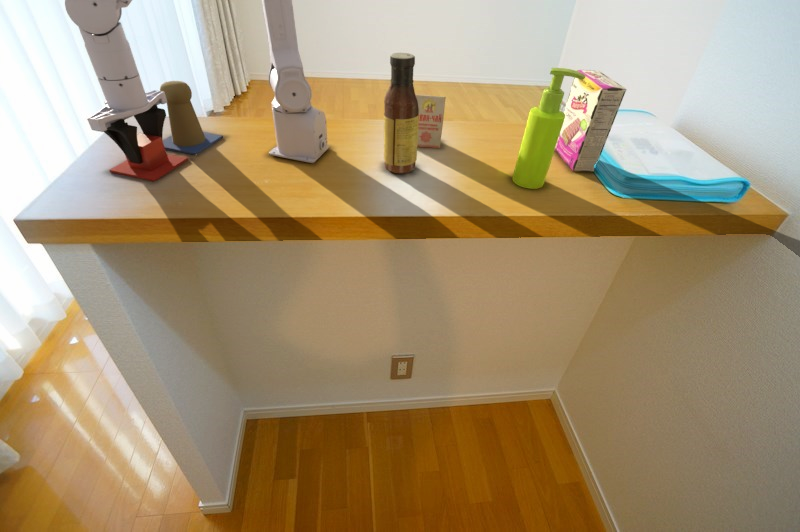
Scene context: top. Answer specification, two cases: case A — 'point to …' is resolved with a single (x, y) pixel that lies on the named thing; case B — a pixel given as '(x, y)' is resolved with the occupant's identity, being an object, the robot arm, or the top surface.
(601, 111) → the candy bar box
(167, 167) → the red mat
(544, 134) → the soap dispenser
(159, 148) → the red block
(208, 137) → the blue mat
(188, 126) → the cork
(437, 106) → the beige carton box
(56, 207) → the top surface
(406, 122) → the sauce bottle
